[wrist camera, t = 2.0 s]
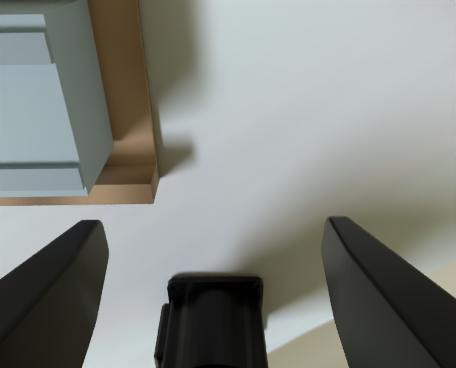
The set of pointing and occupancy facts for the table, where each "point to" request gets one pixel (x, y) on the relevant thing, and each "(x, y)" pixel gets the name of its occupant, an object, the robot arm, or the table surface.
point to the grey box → (50, 100)
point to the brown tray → (118, 112)
